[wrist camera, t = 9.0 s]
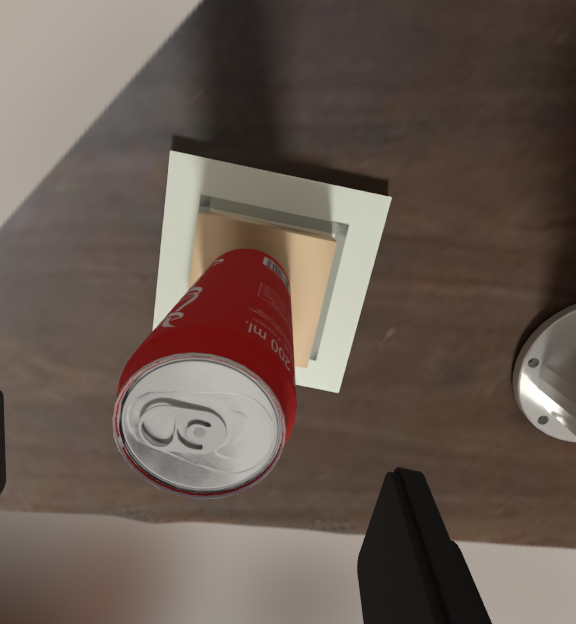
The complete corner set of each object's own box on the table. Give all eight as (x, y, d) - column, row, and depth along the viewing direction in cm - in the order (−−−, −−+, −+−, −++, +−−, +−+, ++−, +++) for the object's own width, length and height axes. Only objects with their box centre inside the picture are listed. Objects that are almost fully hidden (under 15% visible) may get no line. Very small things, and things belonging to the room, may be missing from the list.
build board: (388, 197, 28) (392, 197, 26) (337, 386, 32) (338, 393, 31) (175, 152, 27) (169, 150, 26) (155, 349, 32) (149, 355, 31)
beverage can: (227, 230, 24) (112, 281, 9) (317, 278, 24) (336, 394, 10) (190, 309, 25) (44, 454, 11) (275, 352, 26) (241, 540, 12)
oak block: (332, 236, 27) (337, 242, 24) (306, 346, 30) (307, 368, 26) (212, 211, 27) (197, 213, 23) (197, 324, 30) (181, 343, 26)
